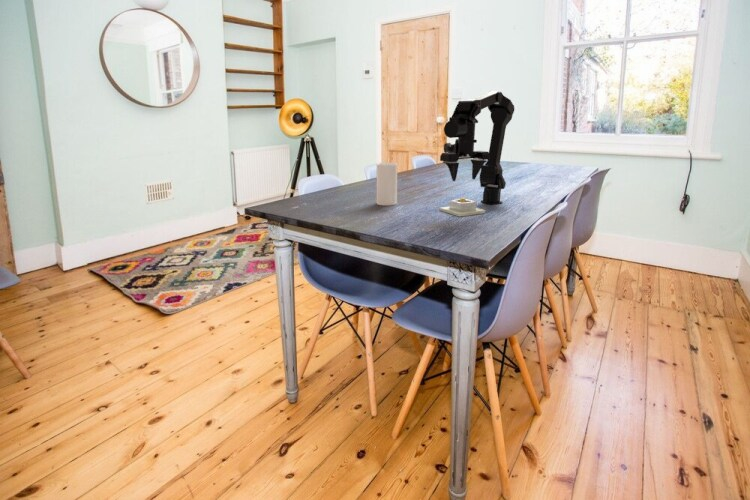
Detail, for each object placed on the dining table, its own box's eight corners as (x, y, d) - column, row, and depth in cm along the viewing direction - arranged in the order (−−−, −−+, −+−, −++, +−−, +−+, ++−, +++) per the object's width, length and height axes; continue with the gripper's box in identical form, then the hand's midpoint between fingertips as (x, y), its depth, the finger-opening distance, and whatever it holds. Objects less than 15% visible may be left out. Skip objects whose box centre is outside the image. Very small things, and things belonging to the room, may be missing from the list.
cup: (395, 205, 182) (395, 165, 177) (374, 205, 183) (374, 164, 178) (398, 201, 189) (398, 162, 184) (378, 201, 191) (378, 162, 186)
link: (463, 206, 176) (464, 198, 175) (475, 209, 170) (476, 201, 169) (449, 208, 173) (449, 200, 172) (461, 211, 167) (461, 203, 166)
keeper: (464, 206, 179) (465, 194, 178) (485, 212, 169) (486, 199, 168) (439, 210, 174) (440, 197, 172) (459, 216, 164) (460, 202, 162)
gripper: (471, 134, 174) (469, 175, 179) (431, 136, 166) (430, 179, 170) (492, 136, 165) (488, 179, 170) (450, 137, 156) (448, 183, 161)
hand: (463, 180), depth 168 cm, fingers open, 9 cm apart
